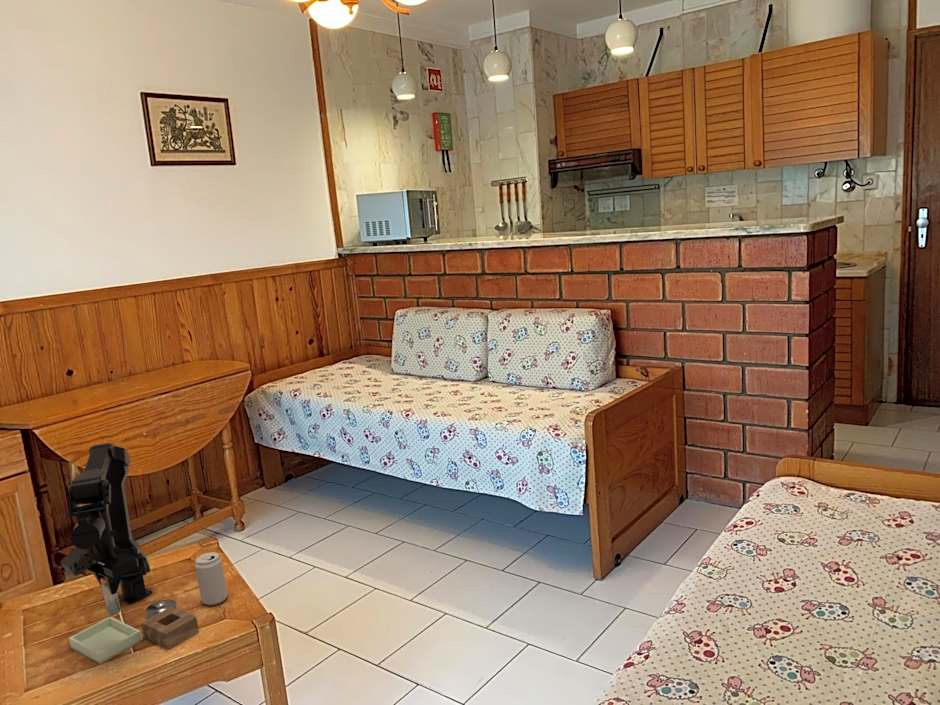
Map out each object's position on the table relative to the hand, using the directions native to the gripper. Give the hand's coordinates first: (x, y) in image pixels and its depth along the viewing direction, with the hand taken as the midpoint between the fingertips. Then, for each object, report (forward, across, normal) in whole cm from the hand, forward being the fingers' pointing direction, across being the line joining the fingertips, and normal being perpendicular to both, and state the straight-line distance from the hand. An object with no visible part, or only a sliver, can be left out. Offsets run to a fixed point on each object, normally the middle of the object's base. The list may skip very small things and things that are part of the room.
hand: (110, 592), depth 173 cm
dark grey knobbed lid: (+13, -1, +12) cm, 18 cm away
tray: (+13, -2, -2) cm, 13 cm away
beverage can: (+13, +5, +23) cm, 27 cm away
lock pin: (+5, 0, 0) cm, 5 cm away
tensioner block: (+13, +9, +8) cm, 17 cm away
